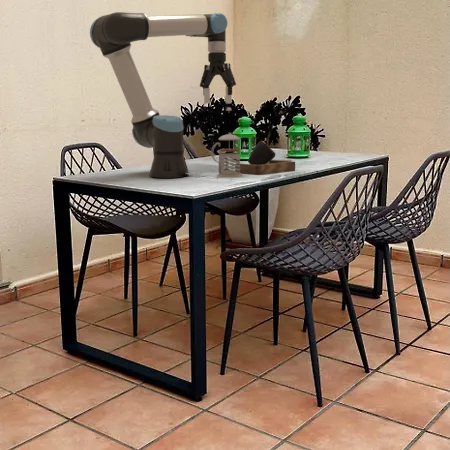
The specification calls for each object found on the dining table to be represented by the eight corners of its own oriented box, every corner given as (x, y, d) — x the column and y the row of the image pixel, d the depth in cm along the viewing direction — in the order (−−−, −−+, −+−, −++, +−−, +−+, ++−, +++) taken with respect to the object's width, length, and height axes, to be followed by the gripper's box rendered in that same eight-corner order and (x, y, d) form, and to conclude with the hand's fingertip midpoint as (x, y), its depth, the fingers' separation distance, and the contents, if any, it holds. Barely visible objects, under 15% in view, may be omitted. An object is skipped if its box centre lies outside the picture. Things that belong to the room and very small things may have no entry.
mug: (267, 176, 262) (282, 159, 260) (253, 168, 252) (269, 150, 250) (255, 164, 266) (270, 147, 264) (241, 155, 256) (257, 138, 254)
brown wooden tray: (258, 174, 238) (258, 165, 238) (235, 172, 247) (235, 163, 247) (295, 170, 253) (295, 161, 252) (271, 168, 262) (271, 160, 261)
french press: (246, 176, 234) (245, 107, 229) (215, 177, 231) (214, 107, 226) (238, 173, 243) (237, 107, 239) (208, 175, 240) (207, 107, 235)
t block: (286, 168, 264) (286, 160, 263) (262, 167, 269) (262, 160, 268) (293, 166, 271) (293, 159, 270) (269, 165, 276) (269, 158, 275)
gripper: (244, 50, 264) (244, 102, 268) (204, 54, 282) (204, 103, 286) (231, 49, 259) (231, 102, 263) (191, 54, 277) (192, 103, 281)
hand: (217, 103), depth 275 cm, fingers open, 13 cm apart
